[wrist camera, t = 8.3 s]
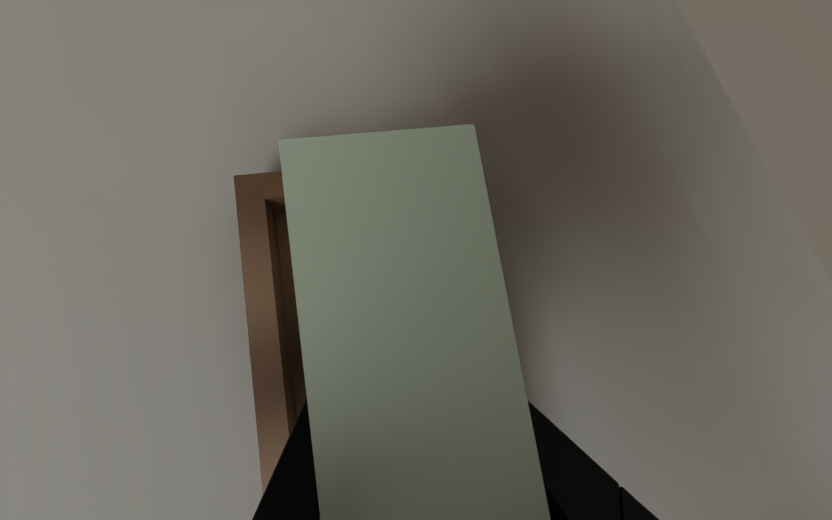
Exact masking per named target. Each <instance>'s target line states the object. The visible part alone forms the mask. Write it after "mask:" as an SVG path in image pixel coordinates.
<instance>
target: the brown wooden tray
mask: <svg viewBox="0 0 832 520" xmlns="http://www.w3.org/2000/svg"><path fill="white" fill-rule="evenodd" d="M234 183H235V194H236V205H237V216H238V227H239V238H240V249H241V260H242V270H243V281H244V292H245V303H246V314H247V325H248V336H249V347H250V358H251V368H252V379H253V390H254V401H255V412H256V423H257V434H258V445H259V456H260V466H261V477H262V488H263V494H264V492H265V490H266V487H267V485H268V483H269V480H270V478H271V476H272V474H273V471H274V469H275V467H276V465H277V462H278V460H279V458H280V456H281V453H282V451H283V449H284V446H285V444H286V442H287V440H288V437H289V435H290V433H291V431H292V428H293V426H294V424H295V422H296V419H297V417H298V415H299V412H300V410H301V408H302V406H303V403H304V401H305V399H306V397H307V395H306V386H305V377H304V368H303V359H302V350H301V341H300V332H299V323H298V314H297V305H296V296H295V287H294V278H293V269H292V260H291V251H290V242H289V233H288V224H287V215H286V206H285V197H284V188H283V179H282V171H280V172H269V173H258V174H247V175H236V176H234Z"/></svg>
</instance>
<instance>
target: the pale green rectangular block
mask: <svg viewBox="0 0 832 520" xmlns="http://www.w3.org/2000/svg"><path fill="white" fill-rule="evenodd" d="M278 144H279V153H280V161H281V170H282V179H283V188H284V197H285V206H286V215H287V224H288V233H289V242H290V251H291V260H292V269H293V278H294V287H295V296H296V305H297V314H298V323H299V332H300V341H301V350H302V359H303V368H304V377H305V386H306V395H307V404H308V413H309V422H310V431H311V440H312V448H313V457H314V466H315V475H316V484H317V493H318V502H319V511H320V520H551V519H550V514H549V508H548V503H547V498H546V493H545V488H544V482H543V477H542V472H541V467H540V462H539V457H538V451H537V446H536V441H535V436H534V431H533V426H532V420H531V415H530V410H529V405H528V400H527V395H526V389H525V384H524V379H523V374H522V369H521V364H520V358H519V353H518V348H517V343H516V338H515V332H514V327H513V322H512V317H511V312H510V307H509V301H508V296H507V291H506V286H505V281H504V276H503V270H502V265H501V260H500V255H499V250H498V245H497V239H496V234H495V229H494V224H493V219H492V214H491V208H490V203H489V198H488V193H487V188H486V182H485V177H484V172H483V167H482V162H481V157H480V151H479V146H478V141H477V136H476V131H475V126H474V124H467V125H454V126H442V127H429V128H417V129H405V130H392V131H380V132H367V133H355V134H343V135H330V136H318V137H305V138H293V139H281V140H278Z"/></svg>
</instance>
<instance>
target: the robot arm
mask: <svg viewBox="0 0 832 520" xmlns="http://www.w3.org/2000/svg"><path fill="white" fill-rule="evenodd" d="M528 405H529V410H530V415H531V420H532V426H533V431H534V436H535V441H536V446H537V451H538V457H539V462H540V467H541V472H542V477H543V482H544V488H545V493H546V498H547V503H548V508H549V514H550V519H551V520H659V519H658V518H657V517H655V516H654V515H653V514H652V513H651V512H650V511H649V510H647V509H646V508H645V507H644V506H643V505H642V504H641V503H639V502H638V501H637V500H636V499H635V498H634V497H633V496H632V495H631V494H630V493H629V492H627V491H626V490H625V489H624V488H623V487H619V484H618V483H617V482H616V481H615V480H614V479H613V478H612V477H611V476H610V475H609V474H608V473H607V472H605V471H604V470H603V469H602V468H601V467H600V466H599V465H598V464H597V463H596V462H594V461H593V460H592V459H591V458H590V457H589V456H588V455H587V454H586V453H585V452H584V451H582V450H581V449H580V448H579V447H578V446H577V445H576V444H575V443H574V442H573V441H572V440H570V439H569V438H568V437H567V436H566V435H565V434H564V433H563V432H562V431H561V430H560V429H558V428H557V427H556V426H555V425H554V424H553V423H552V422H551V421H550V420H549V419H548V418H546V417H545V416H544V415H543V414H542V413H541V412H540V411H539V410H538V409H537V408H535V407H534V406H533V405H532V404H531V403H530V402H529V401H528ZM252 520H320V511H319V502H318V493H317V484H316V475H315V466H314V457H313V448H312V440H311V431H310V422H309V413H308V404H307V397H306V399H305V401H304V403H303V406H302V408H301V410H300V412H299V415H298V417H297V419H296V422H295V424H294V426H293V428H292V431H291V433H290V435H289V437H288V440H287V442H286V444H285V446H284V449H283V451H282V453H281V456H280V458H279V460H278V462H277V465H276V467H275V469H274V471H273V474H272V476H271V478H270V480H269V483H268V485H267V487H266V490H265V492H264V494H263V496H262V499H261V501H260V503H259V505H258V508H257V510H256V512H255V514H254V517H253V519H252Z"/></svg>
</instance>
